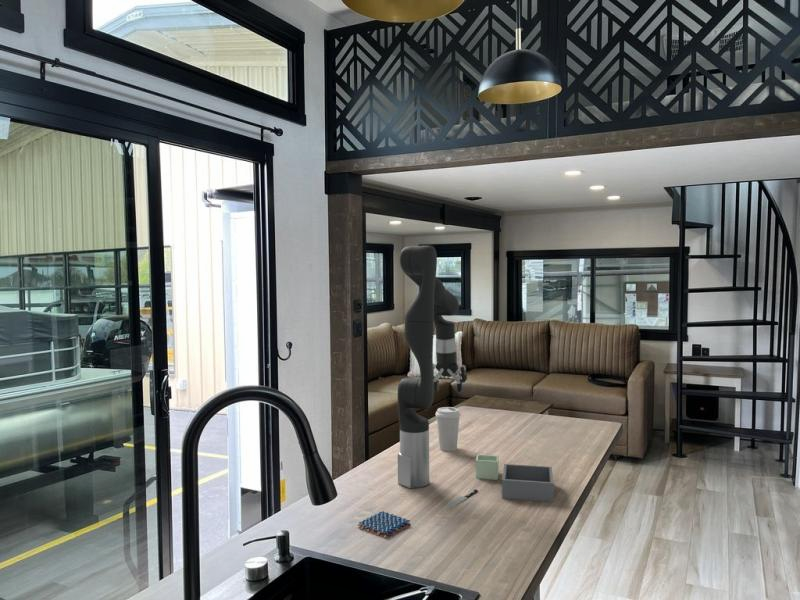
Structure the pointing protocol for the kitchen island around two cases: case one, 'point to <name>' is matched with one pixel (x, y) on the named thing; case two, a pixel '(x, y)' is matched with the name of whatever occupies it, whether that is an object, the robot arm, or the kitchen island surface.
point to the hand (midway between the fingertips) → (448, 391)
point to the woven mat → (384, 524)
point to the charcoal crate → (527, 482)
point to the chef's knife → (459, 500)
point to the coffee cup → (448, 427)
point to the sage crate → (487, 466)
